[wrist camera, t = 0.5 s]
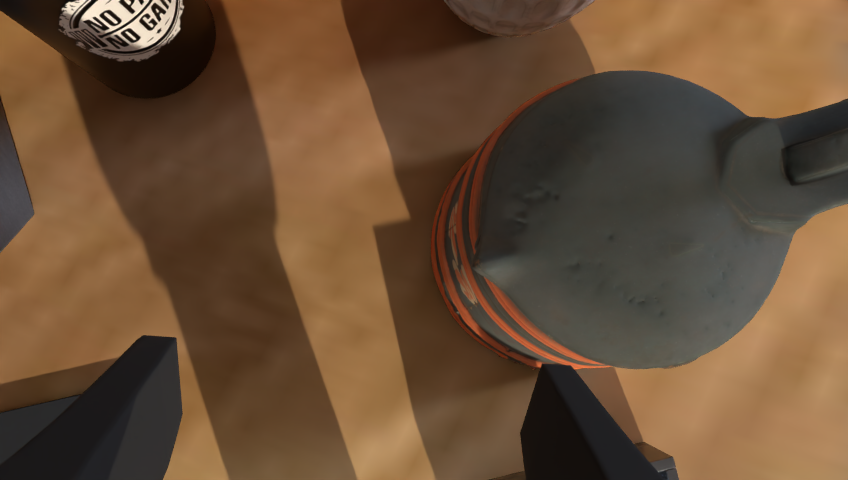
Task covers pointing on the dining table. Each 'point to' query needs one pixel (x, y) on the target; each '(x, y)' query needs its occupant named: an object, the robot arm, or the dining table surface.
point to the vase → (515, 14)
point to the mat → (27, 424)
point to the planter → (11, 188)
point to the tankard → (629, 220)
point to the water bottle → (125, 39)
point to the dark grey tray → (652, 454)
